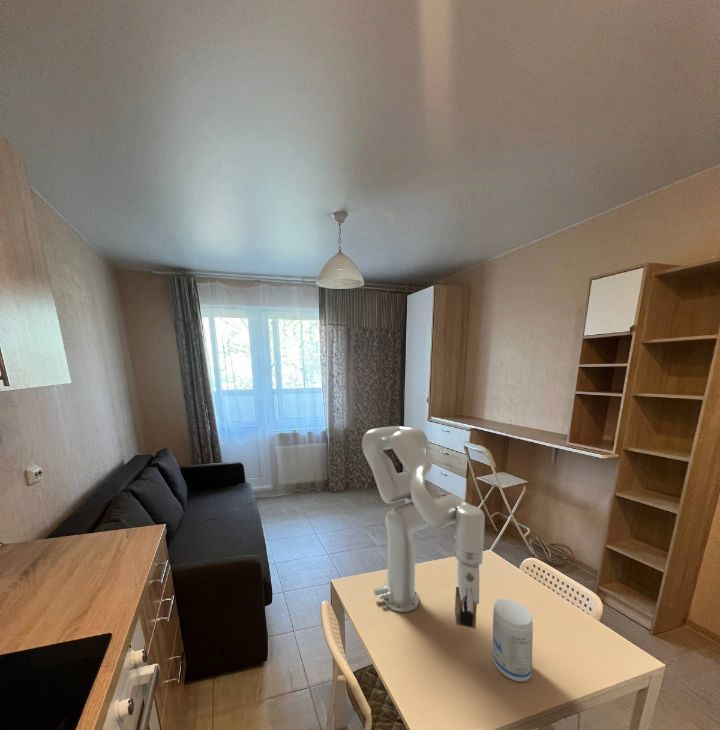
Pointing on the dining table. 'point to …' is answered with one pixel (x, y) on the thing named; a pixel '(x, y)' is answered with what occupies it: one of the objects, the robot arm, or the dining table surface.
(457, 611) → the walnut block
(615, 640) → the dining table surface
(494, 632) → the supplement tub
